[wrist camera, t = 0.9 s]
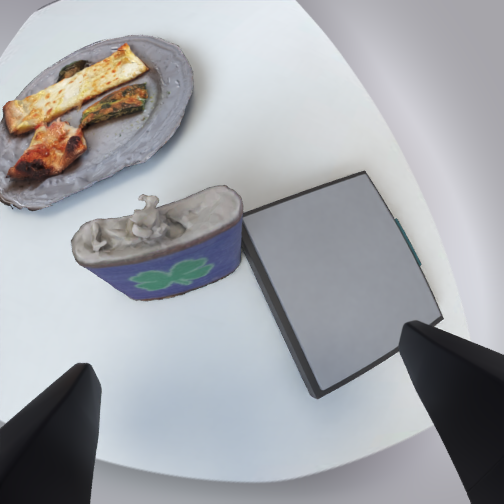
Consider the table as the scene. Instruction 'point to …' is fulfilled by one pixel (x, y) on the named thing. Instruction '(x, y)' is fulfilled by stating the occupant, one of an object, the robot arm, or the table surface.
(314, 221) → the scale
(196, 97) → the table surface
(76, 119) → the food plate
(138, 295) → the flask
